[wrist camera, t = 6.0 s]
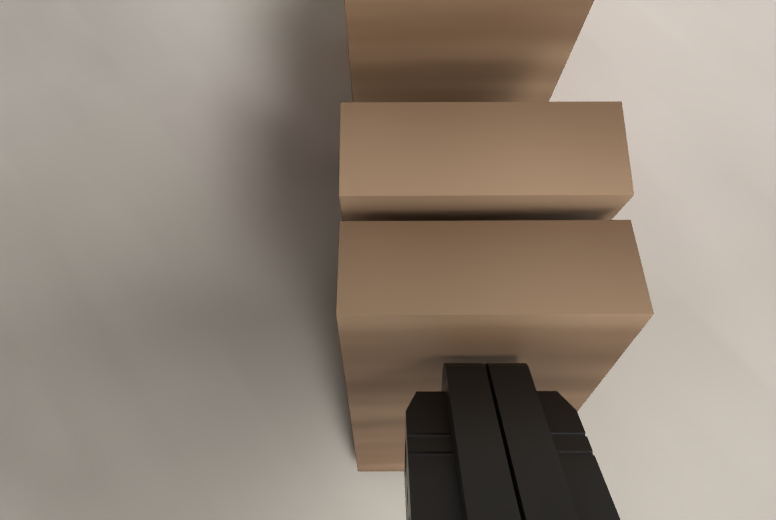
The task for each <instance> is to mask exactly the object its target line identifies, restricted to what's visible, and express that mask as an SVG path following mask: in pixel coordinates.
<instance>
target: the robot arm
mask: <svg viewBox="0 0 776 520" xmlns="http://www.w3.org/2000/svg"><path fill="white" fill-rule="evenodd" d="M404 475H405V497H406V520H620V518H619V515H618V513H617V510H616V508H615V505H614V503H613V500H612V498H611V495H610V493H609V490H608V488H607V485H606V483H605V480H604V478H603V475H602V473H601V470H600V468H599V466H598V463H597V461H596V458H595V456H594V455H593V453H592V448H591V446H590V443H589V441H588V438H587V437H585V431H584V428H583V426H582V423H581V421H580V418H579V416H578V413H577V411H576V409H575V408H574V407H573V406H572V405H571V404H570V403H569V402H568V401H567V400H566V399H565V398H564V397H563V396H562V395H561V394H560V393H559V392H558V391H536V388H535V385H534V382H533V379H532V376H531V373H530V370H529V367H528V365H527V364H526V363H486V364H485V365H484V363H444V364H443V371H442V390H441V391H416V393H415V395H414V397H413V398H412V400H411V402H410V404H409V406H408V407H407V409H406V419H405V470H404Z"/></svg>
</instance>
